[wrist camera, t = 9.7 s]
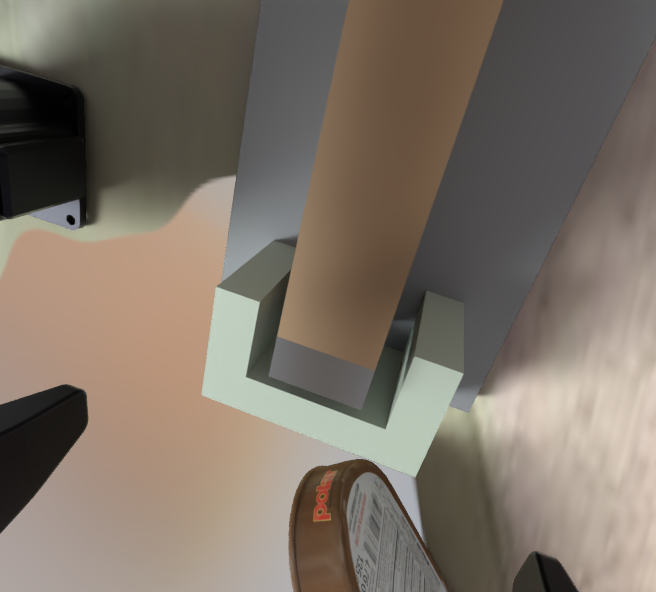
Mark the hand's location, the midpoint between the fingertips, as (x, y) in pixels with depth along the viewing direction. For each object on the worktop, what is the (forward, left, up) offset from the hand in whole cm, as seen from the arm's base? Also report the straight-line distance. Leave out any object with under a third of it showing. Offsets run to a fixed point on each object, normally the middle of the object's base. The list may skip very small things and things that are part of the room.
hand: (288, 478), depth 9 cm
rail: (-1, +6, -11) cm, 12 cm away
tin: (+5, -15, -12) cm, 20 cm away
